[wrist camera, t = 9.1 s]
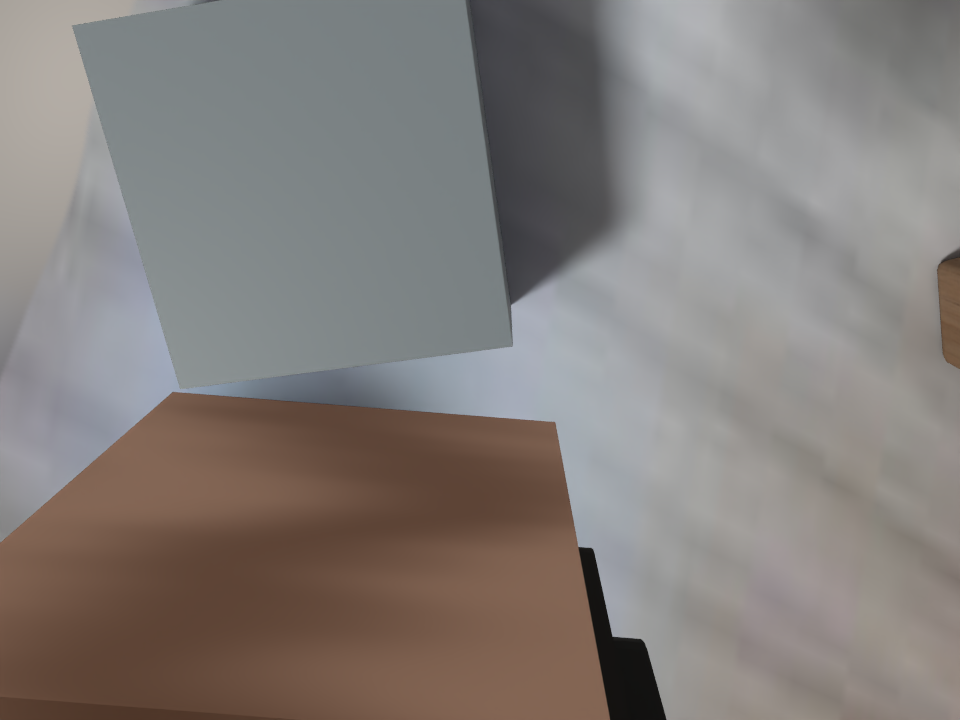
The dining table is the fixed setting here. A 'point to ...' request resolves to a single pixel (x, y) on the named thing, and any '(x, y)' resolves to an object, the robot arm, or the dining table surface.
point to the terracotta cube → (303, 572)
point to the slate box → (305, 181)
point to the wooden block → (950, 309)
